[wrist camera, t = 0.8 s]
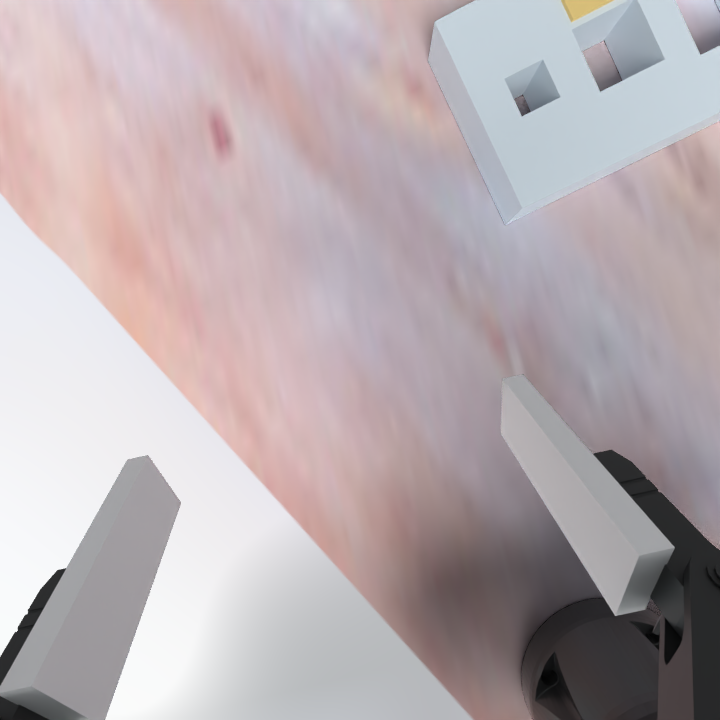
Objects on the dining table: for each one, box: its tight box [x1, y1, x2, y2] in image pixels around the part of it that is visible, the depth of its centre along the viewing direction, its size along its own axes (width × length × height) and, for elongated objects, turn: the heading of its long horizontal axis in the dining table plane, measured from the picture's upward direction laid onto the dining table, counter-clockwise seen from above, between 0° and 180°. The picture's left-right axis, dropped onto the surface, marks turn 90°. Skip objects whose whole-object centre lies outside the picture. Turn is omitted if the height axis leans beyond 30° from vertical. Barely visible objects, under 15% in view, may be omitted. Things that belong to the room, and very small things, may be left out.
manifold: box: [428, 0, 720, 225], centre depth 30 cm, size 16×26×4 cm, turn 115°
